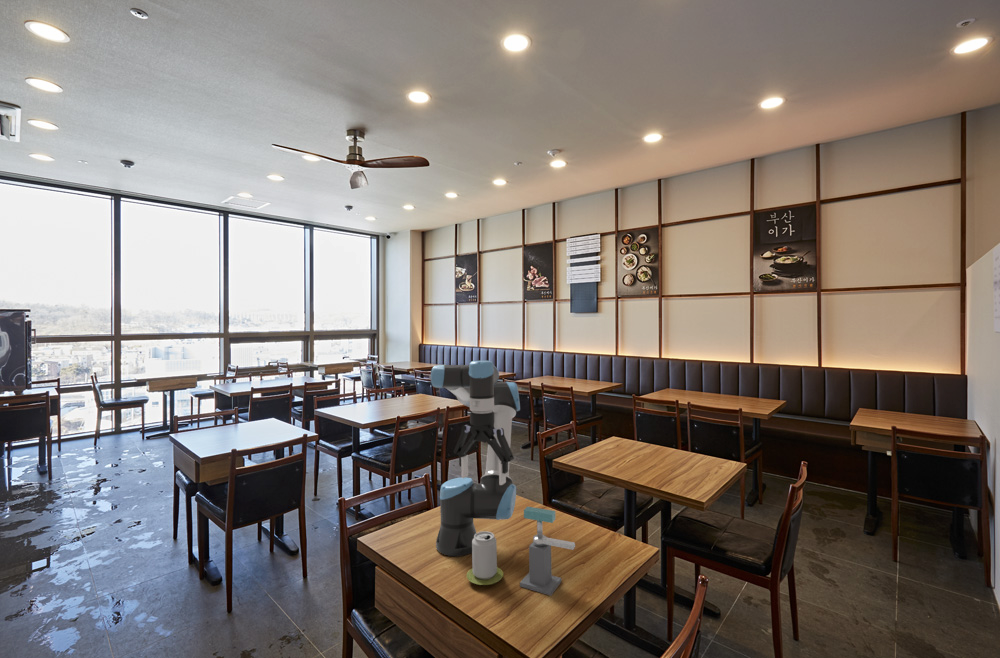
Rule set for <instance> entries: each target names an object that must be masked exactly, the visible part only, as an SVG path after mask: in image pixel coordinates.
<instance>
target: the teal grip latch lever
mask: <svg viewBox="0 0 1000 658" xmlns="http://www.w3.org/2000/svg"><path fill="white" fill-rule="evenodd" d="M523 519H527V520H533V521H536V532H537V533H536V534H535V535H533V540H532V543H533V544H534V545H535V546H538V547H542V546H545V545H551V547H557V548H562V549H566V550H567V549H568V550H572V551H573V550H574V549H575V548H576V542H574V541H568V540H563V539H557V538H551V537H547V536H546V535H544V534H543V532H544V531H543V522H545V523H550V524H553V523H554V522H555V520H556V510H552V509H545V508H539V507H532V506H526V507H525V508H524V509H523Z"/></svg>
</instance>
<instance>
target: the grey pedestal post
mask: <svg viewBox="0 0 1000 658" xmlns="http://www.w3.org/2000/svg"><path fill="white" fill-rule="evenodd" d="M528 555H529V556H528V563H529V564H528V565H529V566H528V567H529V572H527V575H525V576H524V577H523V578H522V580H521V581H519V587H520V588H523V589H527V590H531V591H534V592H537V593H541V594H543V595H547V596H553V593H555V591H556V590H557V588H558V587H559V586H560V584H561V583H562V577H559V576H555V575H552V546H551V545H545V546H542V547H538V546H535V545H534V544H533V542H532V543H530V545H528Z"/></svg>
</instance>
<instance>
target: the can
mask: <svg viewBox="0 0 1000 658" xmlns="http://www.w3.org/2000/svg"><path fill="white" fill-rule="evenodd" d="M497 550H498V549H497V538H496V537H495V534H494V533H493V532H491V531H486V530H483V531H479V532H476V534H475V535H474V539H473V540H472V553H471V557H472V558H471V559H472V561H471V562H472V568H473V574H474V575H475V576H476V577H477V578H479V579H490V578H492V577H493V576H494V575H495V574H496V573H497V567H498V555H497V553H498V552H497Z"/></svg>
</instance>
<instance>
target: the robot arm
mask: <svg viewBox="0 0 1000 658" xmlns="http://www.w3.org/2000/svg"><path fill="white" fill-rule="evenodd" d="M499 378H500V371H499V369H498V368H497V366H495V365H494V363H493V361H491V360H472V361H470V362H469V364H437V365H434V366H433V367H432V368H431V371H430V384H431V386H432V387H433V388H438V389H447V390H448V391H449V392H451V393H452V394H453V395H454V396H455V397H456V399H457V401H458V402H459V403H460V404H462V405H463V406H465V407H468V408H469V411H471V412H470V413H469V424H470V425H469V424H468V423H467V424H465V425H462V426H461V432H460V435H459V437H458V439H457V442H456V444H455V447H454V449H453V454H455V455H457V456H458V459H459V461H458V463H459V464H458V465H459V467H460V468H461V469H460V470H461V474H460V475H461V477H456V478H452V479H448V480H447V481H445V482H444V483H442V484H441V486H440V491H439V493H440V494H439V495H440V496H439V501H440V502H439V503H440V506H439V507H440V526H439V530H438V532H437V533H438V534H437V536H436V541H435V549H436V548H437V549H436V551H437V550H438V551H439V552H441V553H442V554H441V553H440V554H441V555H443V554H445V555H444V556H446V555H448V556H447V557H462V556H463V557H464V556H467V555H469V554H472V540H473V539H474V535H475V534H476V533H477V530H476V526H475V524H474V520H475V519H477V520H479V519H480V520H481V519H482V520H496V521H501V520H509V519H510V518H512V515H513V513H514V510H515V506H516V499H517V485H516V484H514V483H513V479H512V478H511V476H510V474H509V473H510V462H512V461H513V460H514V459H515V456H514V455H513V452H512V450H511V439H512V425H513V424H512V423H513V422H512V421H513V418H514V417H516V415H517V412H519V411H521V403H520V395H519V394H520V393H519V388H518V384H517V383H516V382H515V381H498V380H499ZM469 433H470V434H471V435H470V437H469V438H468V441H466V440H467V437H468V435H469ZM475 442H477V443H480V442H481V443H486V444H487V451H486V463H485V473H484V474H483V475H482V476H481V477H480V483H474V480H473V478H472V477H468V476H469V455H468V454H467V453H468V451H469V450H470V449H471V447H473V445H474V444H475ZM438 551H437V552H438ZM439 552H438V553H439Z"/></svg>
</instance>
